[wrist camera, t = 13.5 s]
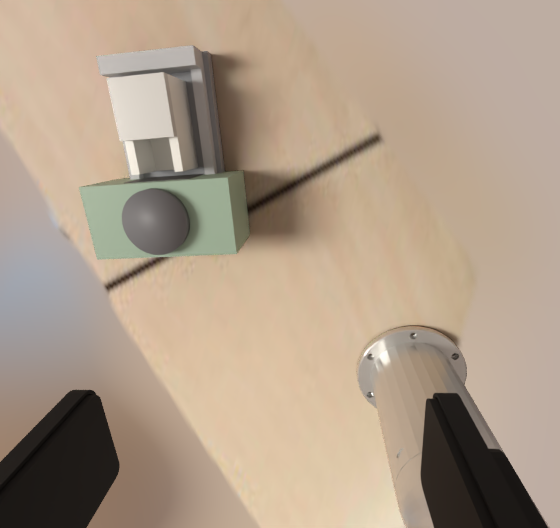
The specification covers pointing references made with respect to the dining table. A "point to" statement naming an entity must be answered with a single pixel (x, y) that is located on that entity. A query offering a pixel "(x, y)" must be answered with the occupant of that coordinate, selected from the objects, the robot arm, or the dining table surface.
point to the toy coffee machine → (171, 178)
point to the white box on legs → (154, 122)
